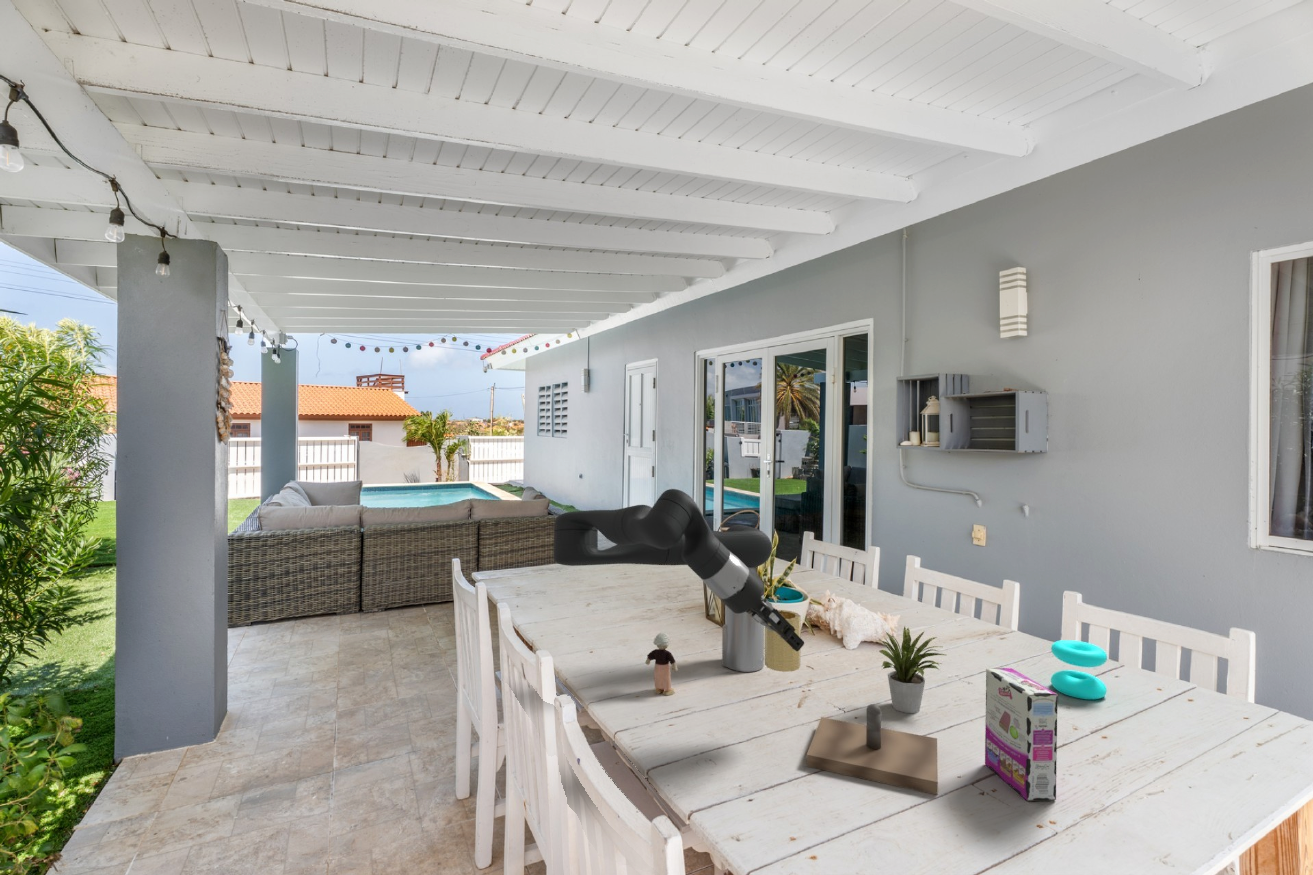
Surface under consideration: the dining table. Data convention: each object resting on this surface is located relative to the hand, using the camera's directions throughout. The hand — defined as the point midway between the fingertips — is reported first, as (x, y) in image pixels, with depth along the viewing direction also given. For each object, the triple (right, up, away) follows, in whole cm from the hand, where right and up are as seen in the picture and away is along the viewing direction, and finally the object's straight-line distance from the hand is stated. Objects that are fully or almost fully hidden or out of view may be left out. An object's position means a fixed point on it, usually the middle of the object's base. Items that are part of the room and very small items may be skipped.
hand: (790, 640), depth 115 cm
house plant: (+25, -18, +11) cm, 33 cm away
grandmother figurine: (-24, -17, +19) cm, 35 cm away
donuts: (+66, -18, +20) cm, 72 cm away
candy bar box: (+34, -18, -15) cm, 41 cm away
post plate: (+13, -18, -7) cm, 23 cm away
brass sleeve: (-2, -4, 0) cm, 5 cm away
